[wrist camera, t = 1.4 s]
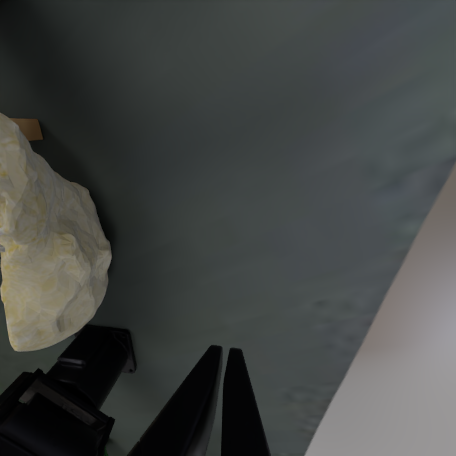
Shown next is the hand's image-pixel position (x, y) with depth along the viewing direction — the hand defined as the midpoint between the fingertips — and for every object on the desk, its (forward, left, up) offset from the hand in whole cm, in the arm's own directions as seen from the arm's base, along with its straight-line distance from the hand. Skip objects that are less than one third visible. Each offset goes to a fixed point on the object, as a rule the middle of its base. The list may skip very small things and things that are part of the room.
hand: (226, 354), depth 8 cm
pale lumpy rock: (0, +16, -12) cm, 20 cm away
